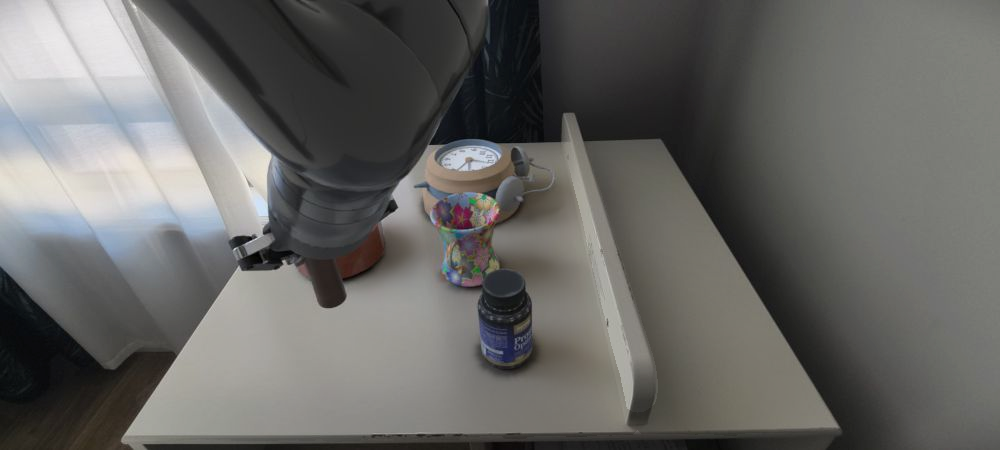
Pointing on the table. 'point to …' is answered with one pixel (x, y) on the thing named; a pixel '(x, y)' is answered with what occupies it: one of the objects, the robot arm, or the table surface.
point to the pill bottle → (505, 319)
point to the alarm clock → (478, 174)
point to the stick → (326, 282)
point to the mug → (467, 236)
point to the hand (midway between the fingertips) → (311, 249)
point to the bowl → (359, 255)
